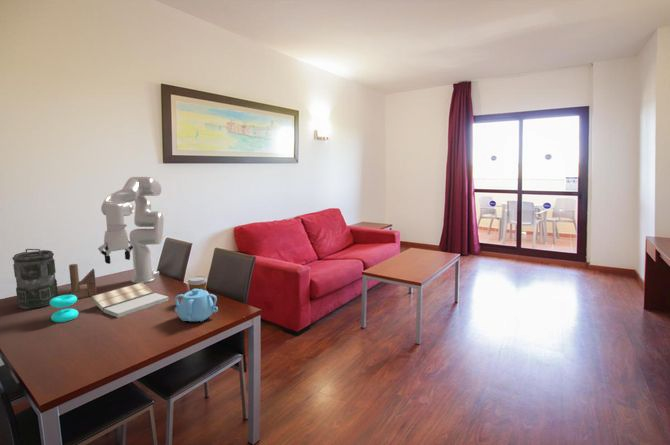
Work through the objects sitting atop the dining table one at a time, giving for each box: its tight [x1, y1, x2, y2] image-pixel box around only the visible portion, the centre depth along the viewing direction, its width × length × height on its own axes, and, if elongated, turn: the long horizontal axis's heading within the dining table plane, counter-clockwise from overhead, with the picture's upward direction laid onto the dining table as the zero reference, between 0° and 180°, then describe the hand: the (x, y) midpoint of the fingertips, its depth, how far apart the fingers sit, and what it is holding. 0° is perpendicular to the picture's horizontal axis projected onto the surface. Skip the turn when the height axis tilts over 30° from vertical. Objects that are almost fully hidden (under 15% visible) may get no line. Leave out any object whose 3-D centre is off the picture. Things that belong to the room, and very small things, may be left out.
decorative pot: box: [174, 289, 219, 323], centre depth 170 cm, size 16×16×14 cm
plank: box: [91, 282, 154, 312], centre depth 189 cm, size 26×10×2 cm, turn 149°
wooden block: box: [68, 263, 98, 300], centre depth 194 cm, size 4×11×18 cm, turn 130°
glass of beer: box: [187, 275, 208, 291], centre depth 191 cm, size 10×10×12 cm
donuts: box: [49, 294, 79, 323], centre depth 167 cm, size 10×10×10 cm
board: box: [103, 291, 170, 318], centre depth 184 cm, size 26×12×2 cm, turn 149°
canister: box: [11, 248, 59, 310], centre depth 183 cm, size 16×16×28 cm
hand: (118, 261), depth 187 cm, fingers open, 9 cm apart
